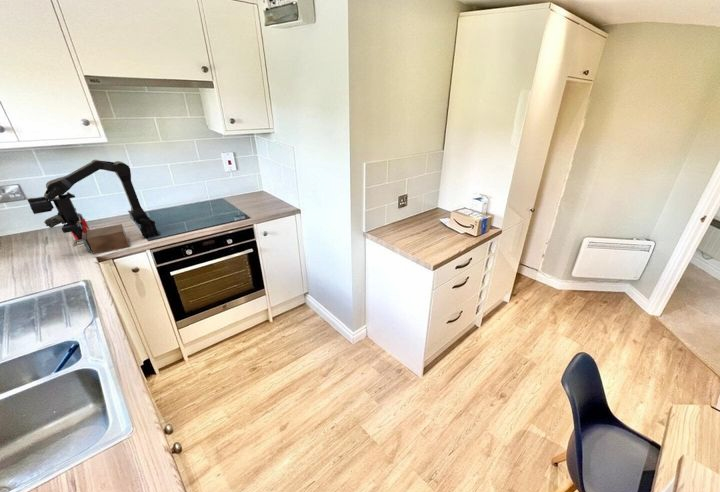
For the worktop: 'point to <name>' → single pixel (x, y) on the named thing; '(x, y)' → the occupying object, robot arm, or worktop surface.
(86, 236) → the drawer
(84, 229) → the soda can
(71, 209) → the robot arm
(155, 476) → the worktop surface
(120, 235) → the cabinet
